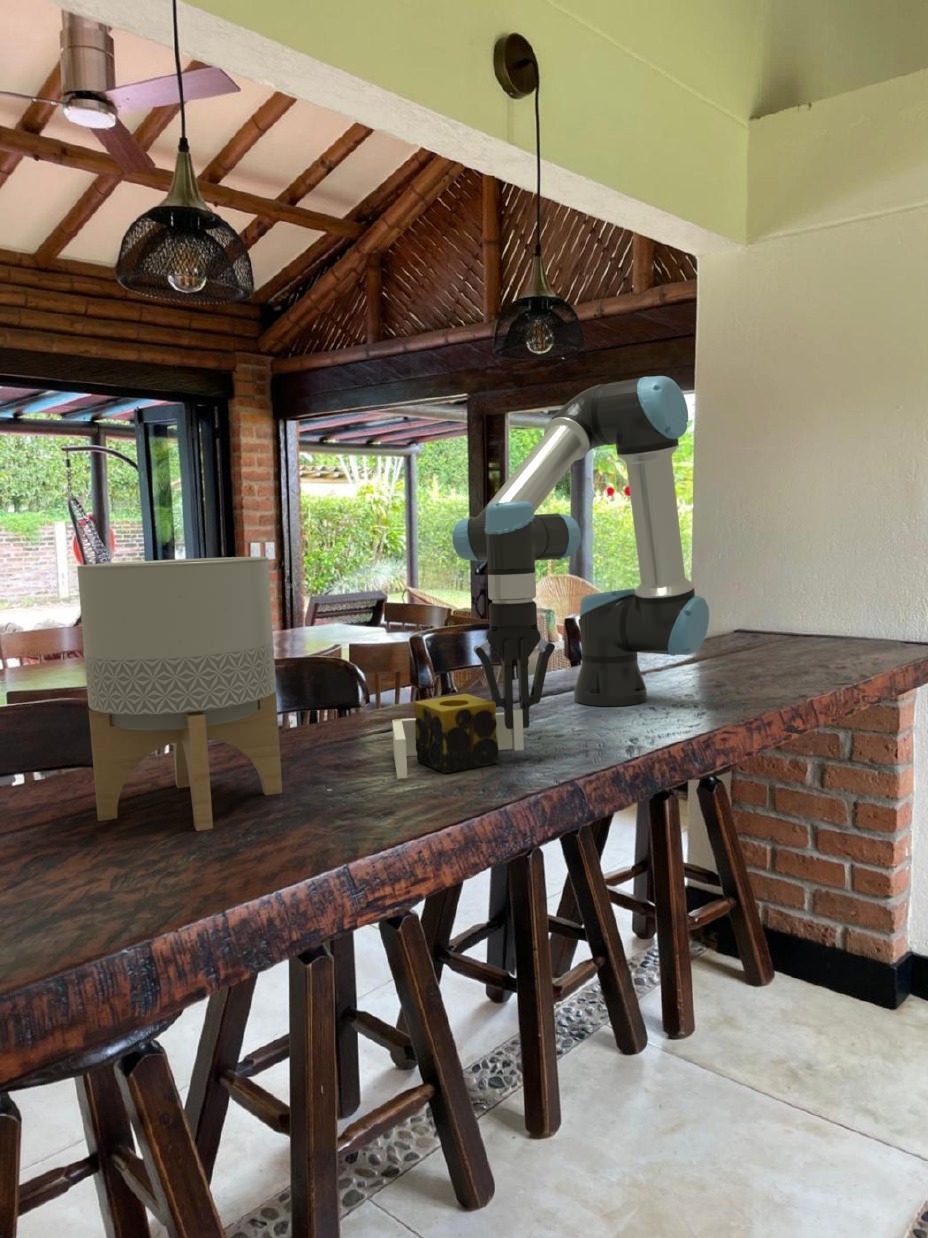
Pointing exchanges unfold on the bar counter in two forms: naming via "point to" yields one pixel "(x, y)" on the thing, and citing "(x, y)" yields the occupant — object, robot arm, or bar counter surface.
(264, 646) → the planter
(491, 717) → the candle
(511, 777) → the bar counter surface
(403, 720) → the white angular piece
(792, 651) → the bar counter surface
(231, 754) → the bar counter surface
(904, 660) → the bar counter surface
